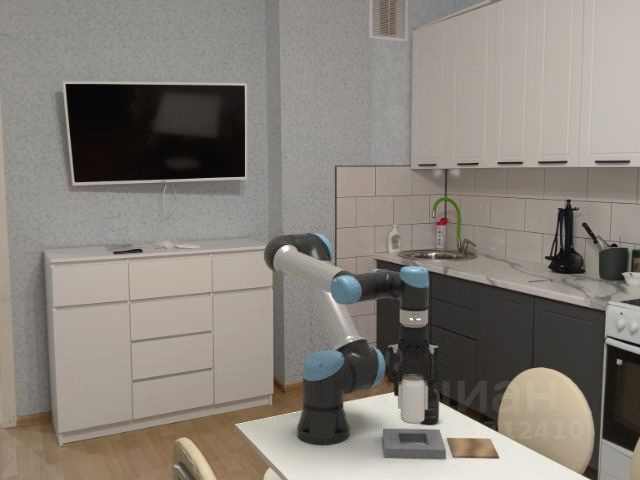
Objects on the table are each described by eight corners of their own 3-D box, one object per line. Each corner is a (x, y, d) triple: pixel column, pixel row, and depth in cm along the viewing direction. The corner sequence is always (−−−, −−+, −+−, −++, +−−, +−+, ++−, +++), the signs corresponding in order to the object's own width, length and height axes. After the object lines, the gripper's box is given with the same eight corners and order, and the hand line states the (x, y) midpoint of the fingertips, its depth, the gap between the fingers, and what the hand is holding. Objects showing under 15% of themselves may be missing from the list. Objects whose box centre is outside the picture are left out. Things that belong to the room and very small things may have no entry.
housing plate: (384, 457, 172) (384, 448, 172) (382, 436, 186) (382, 428, 185) (445, 458, 171) (445, 449, 171) (439, 437, 185) (439, 429, 184)
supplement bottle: (442, 419, 199) (442, 381, 198) (434, 426, 193) (434, 387, 192) (421, 415, 202) (421, 377, 201) (412, 422, 197) (412, 383, 195)
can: (423, 425, 174) (424, 381, 173) (399, 423, 175) (400, 379, 174) (424, 416, 180) (425, 374, 179) (401, 414, 182) (402, 372, 180)
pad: (453, 457, 172) (453, 455, 172) (446, 439, 184) (446, 437, 184) (499, 458, 171) (499, 456, 171) (490, 440, 183) (490, 438, 183)
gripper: (378, 327, 172) (377, 411, 174) (452, 328, 171) (450, 413, 173) (377, 320, 179) (376, 401, 182) (448, 321, 178) (446, 403, 181)
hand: (412, 407), depth 177 cm, fingers closed on can, 6 cm apart
